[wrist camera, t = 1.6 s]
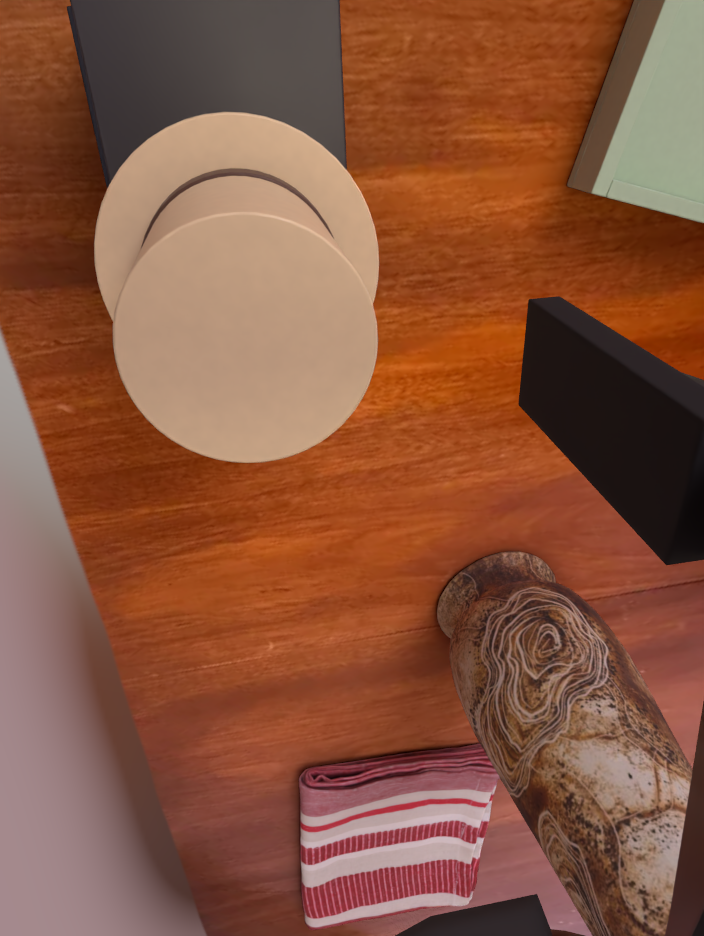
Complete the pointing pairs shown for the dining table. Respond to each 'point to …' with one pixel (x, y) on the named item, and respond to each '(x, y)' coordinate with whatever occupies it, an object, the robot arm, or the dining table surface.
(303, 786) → the dish towel
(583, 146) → the tray
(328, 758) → the dining table surface
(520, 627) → the vase
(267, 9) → the black rectangular block
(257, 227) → the hat
